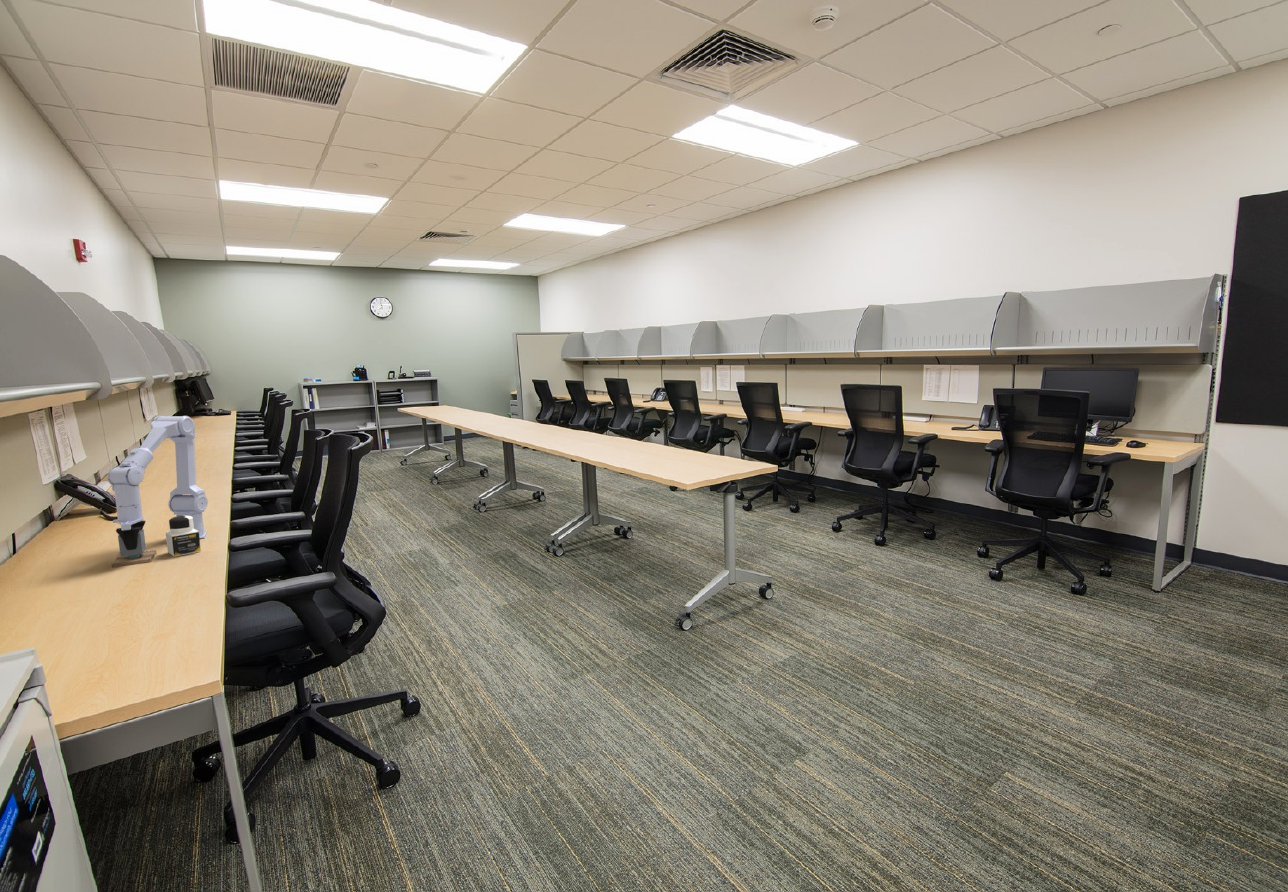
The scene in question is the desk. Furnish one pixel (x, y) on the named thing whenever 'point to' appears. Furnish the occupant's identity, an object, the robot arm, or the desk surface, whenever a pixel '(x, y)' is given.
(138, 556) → the stand
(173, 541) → the medicine bottle
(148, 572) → the desk surface
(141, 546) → the grey block
